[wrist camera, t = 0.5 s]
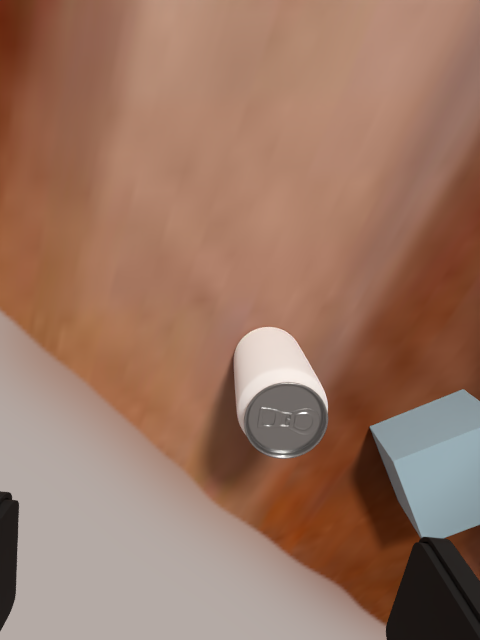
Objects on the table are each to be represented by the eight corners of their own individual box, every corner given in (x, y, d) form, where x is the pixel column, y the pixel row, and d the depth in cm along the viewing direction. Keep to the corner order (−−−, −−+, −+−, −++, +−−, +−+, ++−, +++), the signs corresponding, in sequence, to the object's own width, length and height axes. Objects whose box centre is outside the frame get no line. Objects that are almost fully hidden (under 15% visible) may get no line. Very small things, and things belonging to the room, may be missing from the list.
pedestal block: (462, 388, 39) (503, 418, 33) (485, 466, 42) (527, 506, 36) (368, 425, 40) (393, 461, 34) (397, 500, 42) (424, 545, 37)
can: (294, 391, 38) (325, 468, 27) (229, 385, 38) (231, 460, 26) (305, 329, 37) (343, 381, 25) (237, 321, 36) (243, 371, 25)
